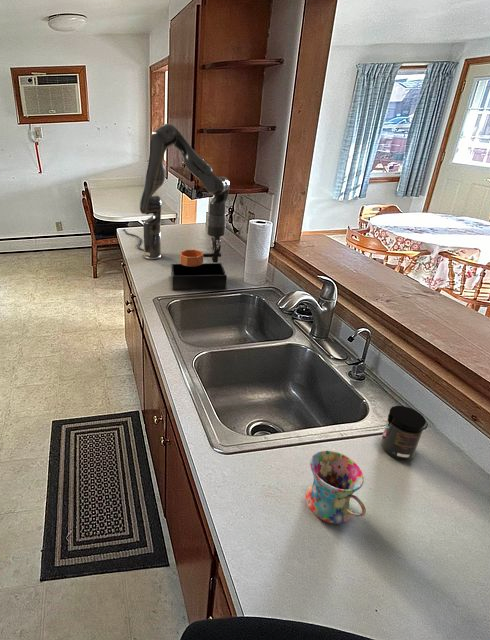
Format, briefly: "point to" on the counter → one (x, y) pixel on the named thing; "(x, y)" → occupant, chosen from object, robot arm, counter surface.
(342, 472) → the mug
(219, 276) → the black storage tray
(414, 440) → the supplement container
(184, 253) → the pan
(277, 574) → the counter surface
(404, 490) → the counter surface
